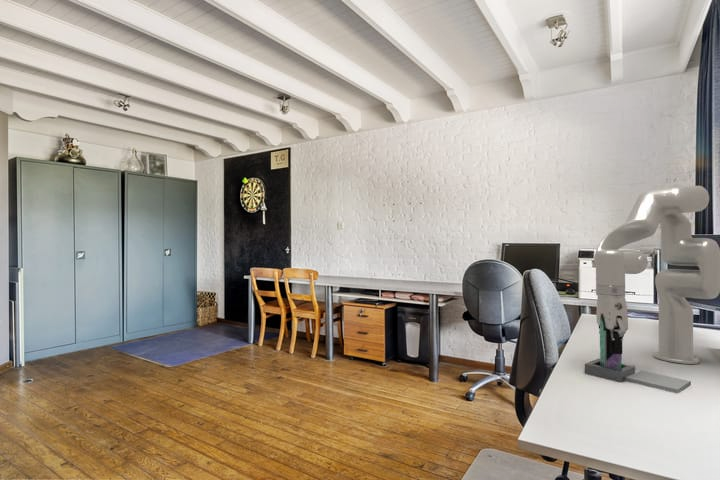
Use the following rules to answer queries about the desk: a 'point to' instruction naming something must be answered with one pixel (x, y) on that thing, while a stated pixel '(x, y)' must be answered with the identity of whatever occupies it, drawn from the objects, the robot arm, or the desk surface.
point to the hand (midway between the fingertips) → (610, 350)
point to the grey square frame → (609, 371)
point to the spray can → (608, 348)
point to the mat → (659, 381)
